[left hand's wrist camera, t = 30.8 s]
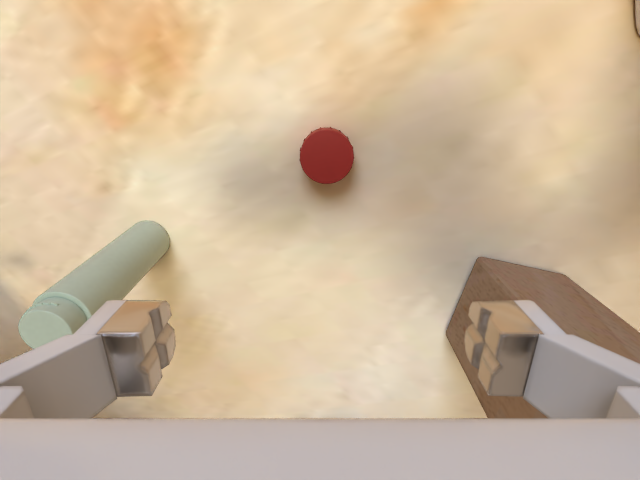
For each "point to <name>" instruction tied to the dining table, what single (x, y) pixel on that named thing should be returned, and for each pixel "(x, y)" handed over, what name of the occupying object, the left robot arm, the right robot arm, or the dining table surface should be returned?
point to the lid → (326, 155)
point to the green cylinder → (94, 284)
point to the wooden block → (556, 301)
